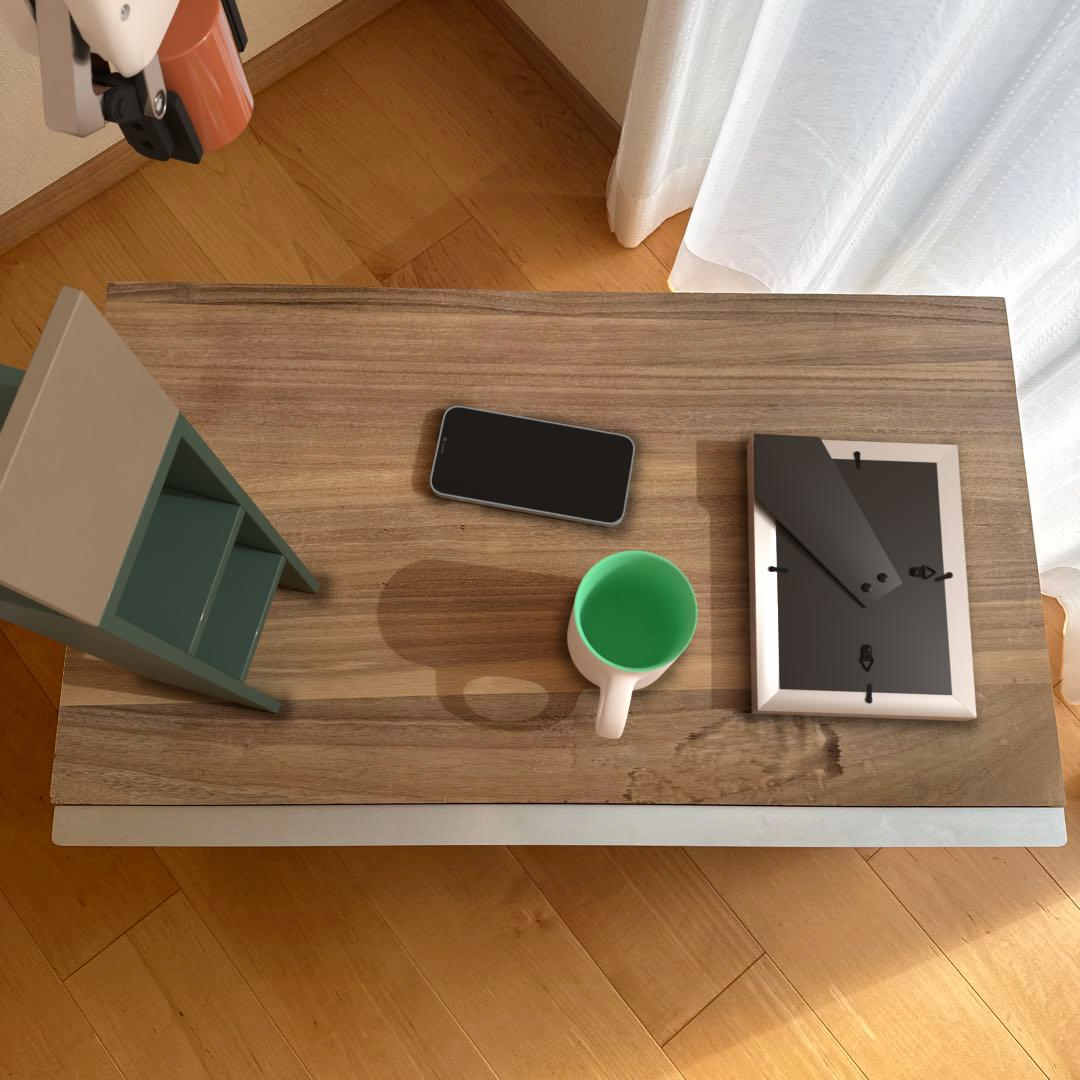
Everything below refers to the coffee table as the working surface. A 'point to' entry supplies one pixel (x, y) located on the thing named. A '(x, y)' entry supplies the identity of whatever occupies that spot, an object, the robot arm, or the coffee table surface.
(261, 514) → the shelf
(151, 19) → the robot arm
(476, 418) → the smartphone
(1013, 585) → the coffee table surface
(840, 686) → the picture frame
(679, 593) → the mug
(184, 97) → the canister
